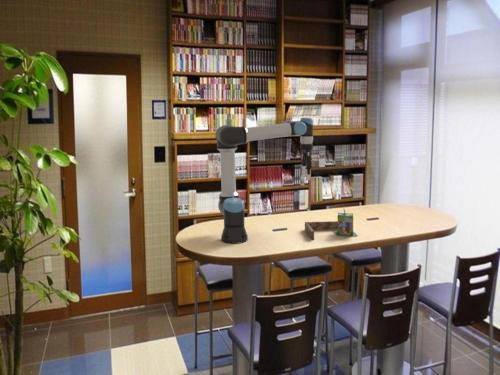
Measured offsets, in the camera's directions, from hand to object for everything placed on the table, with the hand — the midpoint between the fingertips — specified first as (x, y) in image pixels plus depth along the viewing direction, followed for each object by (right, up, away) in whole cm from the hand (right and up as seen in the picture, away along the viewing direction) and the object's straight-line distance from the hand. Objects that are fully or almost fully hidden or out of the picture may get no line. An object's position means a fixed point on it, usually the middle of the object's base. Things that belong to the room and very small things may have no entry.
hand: (306, 178), depth 283 cm
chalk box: (+22, -33, -8) cm, 41 cm away
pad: (+22, -33, -9) cm, 41 cm away
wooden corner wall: (+14, -33, -9) cm, 37 cm away
